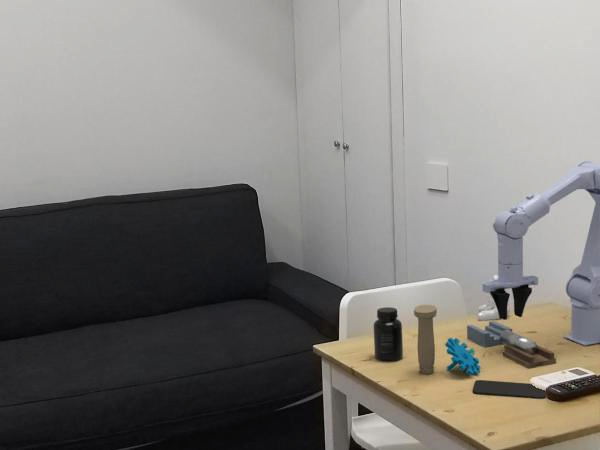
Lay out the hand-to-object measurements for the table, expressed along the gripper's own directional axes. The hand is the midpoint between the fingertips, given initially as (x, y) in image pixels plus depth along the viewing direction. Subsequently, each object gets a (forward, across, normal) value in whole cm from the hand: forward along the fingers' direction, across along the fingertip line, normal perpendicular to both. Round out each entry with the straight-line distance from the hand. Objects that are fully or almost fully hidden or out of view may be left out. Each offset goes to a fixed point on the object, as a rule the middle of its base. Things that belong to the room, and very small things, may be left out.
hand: (510, 317), depth 195 cm
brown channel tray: (+8, 0, +7) cm, 11 cm away
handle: (+9, +25, +3) cm, 27 cm away
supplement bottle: (+9, +28, -10) cm, 31 cm away
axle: (+6, 0, +2) cm, 6 cm away
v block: (+8, 0, -9) cm, 12 cm away
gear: (+9, +17, +6) cm, 20 cm away
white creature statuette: (+9, -13, -26) cm, 30 cm away
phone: (+9, +15, +21) cm, 27 cm away
